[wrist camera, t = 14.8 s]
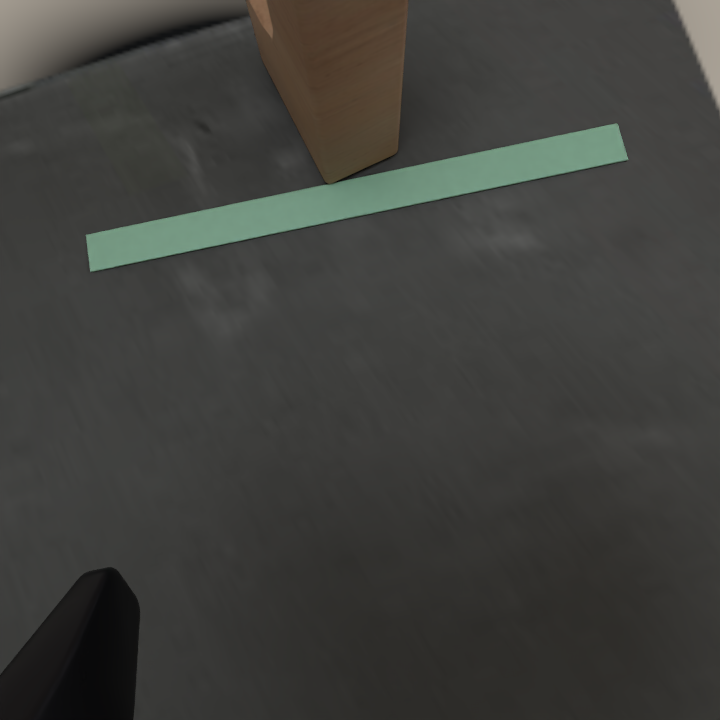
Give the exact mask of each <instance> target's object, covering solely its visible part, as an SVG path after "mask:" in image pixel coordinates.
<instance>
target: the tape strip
mask: <svg viewBox="0 0 720 720" xmlns="http://www.w3.org/2000/svg"><path fill="white" fill-rule="evenodd" d="M627 160H628V157H627V154H626V151H625V147H624V144H623V141H622V137H621V134H620V131H619V127H618V124H617V123H616V124H612V125H607V126H602V127H597V128H593V129H588V130H583V131H578V132H574V133H569V134H564V135H559V136H555V137H550V138H545V139H540V140H536V141H531V142H526V143H521V144H517V145H512V146H507V147H502V148H498V149H493V150H488V151H483V152H479V153H474V154H469V155H464V156H459V157H455V158H450V159H445V160H440V161H436V162H431V163H426V164H421V165H417V166H412V167H407V168H402V169H398V170H393V171H388V172H383V173H379V174H374V175H369V176H364V177H360V178H355V179H350V180H345V181H341V182H336V183H332V184H326V185H322V186H317V187H312V188H307V189H303V190H298V191H293V192H288V193H284V194H279V195H274V196H269V197H264V198H260V199H255V200H250V201H245V202H241V203H236V204H231V205H226V206H222V207H217V208H212V209H207V210H203V211H198V212H193V213H188V214H184V215H179V216H174V217H169V218H165V219H160V220H155V221H150V222H146V223H141V224H136V225H131V226H127V227H122V228H117V229H112V230H108V231H103V232H98V233H93V234H89V235H86V239H87V247H88V256H89V264H90V272H95V271H100V270H104V269H109V268H114V267H119V266H124V265H128V264H133V263H138V262H143V261H148V260H152V259H157V258H162V257H167V256H172V255H176V254H181V253H186V252H191V251H196V250H200V249H205V248H210V247H215V246H220V245H224V244H229V243H234V242H239V241H244V240H248V239H253V238H258V237H263V236H268V235H272V234H277V233H282V232H287V231H292V230H296V229H301V228H306V227H311V226H316V225H320V224H325V223H330V222H335V221H340V220H344V219H349V218H354V217H359V216H364V215H368V214H373V213H378V212H383V211H387V210H392V209H397V208H402V207H407V206H411V205H416V204H421V203H426V202H431V201H435V200H440V199H445V198H450V197H455V196H459V195H464V194H469V193H474V192H479V191H483V190H488V189H493V188H498V187H503V186H507V185H512V184H517V183H522V182H527V181H531V180H536V179H541V178H546V177H551V176H555V175H560V174H565V173H570V172H575V171H579V170H584V169H589V168H594V167H599V166H603V165H608V164H613V163H618V162H623V161H627Z"/></svg>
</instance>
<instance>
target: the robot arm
mask: <svg viewBox="0 0 720 720" xmlns="http://www.w3.org/2000/svg"><path fill="white" fill-rule="evenodd" d="M139 622H140V607H139V603H138V600H137V598H136V596H135V594H134V593H133V592H132V590H131V589H130V587H129V586H128V585H127V583H126V582H125V580H124V579H123V577H122V576H121V575H120V573H119V572H118V571H117V570H116V569H114V568H112V567H107V568H102V569H97V570H93V571H89V572H86V573H84V574H83V575H82V576H81V577H80V578H79V579H78V580H77V581H76V582H75V584H74V585H73V586H72V587H71V589H70V590H69V591H68V592H67V594H66V595H65V596H64V597H63V598H62V600H61V601H60V602H59V603H58V605H57V606H56V607H55V608H54V610H53V611H52V612H51V613H50V614H49V616H48V617H47V618H46V619H45V621H44V622H43V623H42V624H41V625H40V627H39V628H38V629H37V630H36V632H35V633H34V634H33V635H32V637H31V638H30V639H29V640H28V641H27V643H26V644H25V645H24V646H23V648H22V649H21V650H20V651H19V652H18V654H17V655H16V656H15V657H14V659H13V660H12V661H11V662H10V664H9V665H8V666H7V667H6V668H5V670H4V671H3V672H2V673H1V675H0V720H133V717H134V706H135V689H136V672H137V656H138V639H139Z"/></svg>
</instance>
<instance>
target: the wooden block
mask: <svg viewBox="0 0 720 720" xmlns="http://www.w3.org/2000/svg"><path fill="white" fill-rule="evenodd" d="M246 3H247V7H248V10H249V14H250V18H251V21H252V25H253V29H254V32H255V36H256V40H257V43H258V47H259V50H260V54H261V58H262V61H263V63H264V65H265V67H266V69H267V71H268V72H269V74H270V76H271V78H272V80H273V82H274V84H275V86H276V88H277V90H278V92H279V94H280V96H281V98H282V100H283V102H284V104H285V106H286V108H287V109H288V111H289V113H290V115H291V117H292V119H293V121H294V123H295V125H296V127H297V129H298V131H299V133H300V135H301V137H302V139H303V140H304V142H305V144H306V146H307V148H308V150H309V152H310V154H311V156H312V158H313V160H314V162H315V164H316V166H317V168H318V170H319V171H320V173H321V175H322V177H323V179H324V181H325V182H326V183H328V184H332V183H334V182H336V181H338V180H340V179H342V178H345V177H347V176H349V175H351V174H353V173H355V172H358V171H360V170H362V169H364V168H366V167H368V166H371V165H373V164H375V163H377V162H379V161H381V160H384V159H386V158H388V157H390V156H392V155H394V154H395V153H397V151H398V140H399V126H400V111H401V97H402V82H403V67H404V53H405V39H406V25H407V11H408V0H246Z"/></svg>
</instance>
